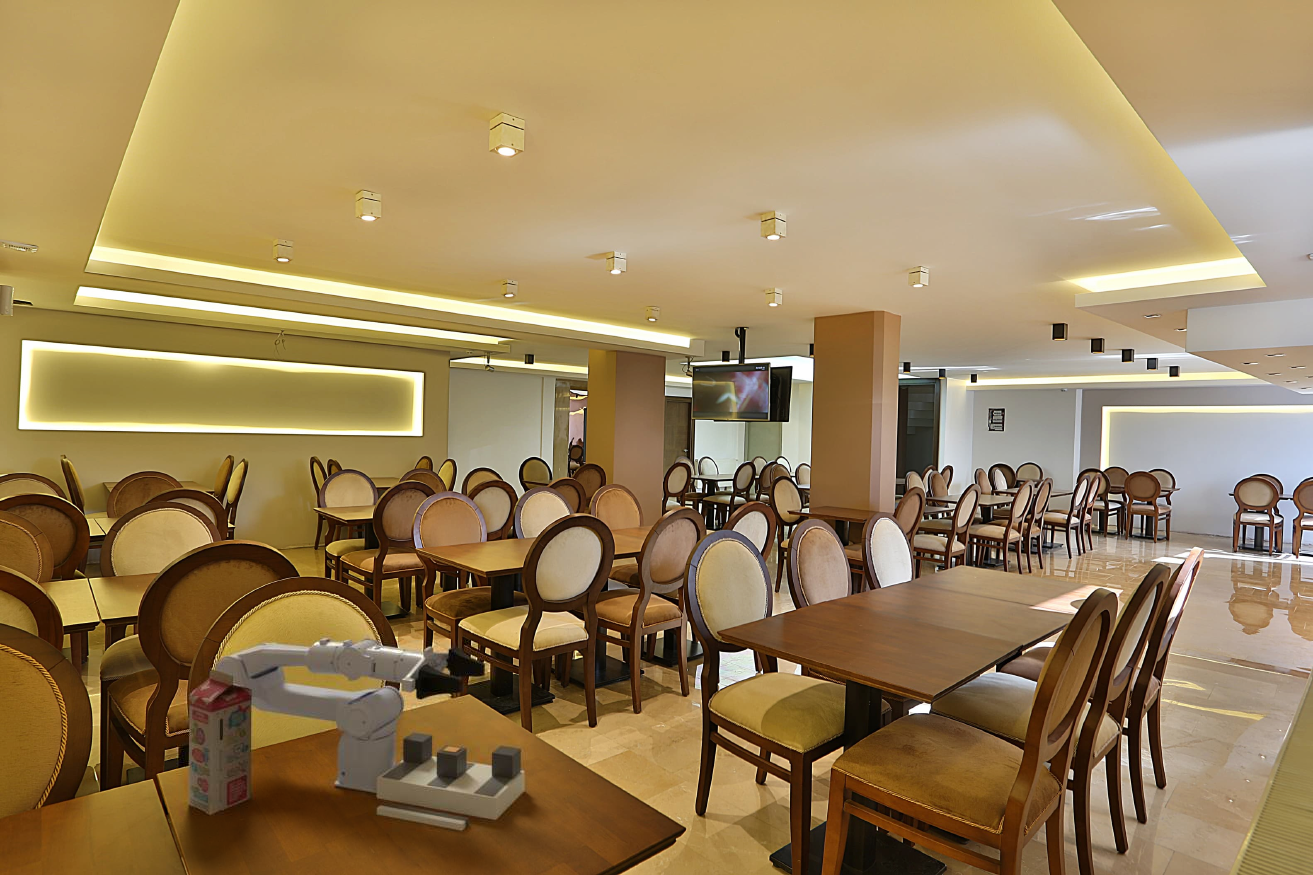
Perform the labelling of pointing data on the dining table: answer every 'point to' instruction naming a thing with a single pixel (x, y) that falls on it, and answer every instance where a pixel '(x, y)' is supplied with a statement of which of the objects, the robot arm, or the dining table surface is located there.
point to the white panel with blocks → (453, 781)
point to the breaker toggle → (451, 761)
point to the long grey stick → (423, 816)
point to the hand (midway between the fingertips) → (472, 677)
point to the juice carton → (219, 743)
